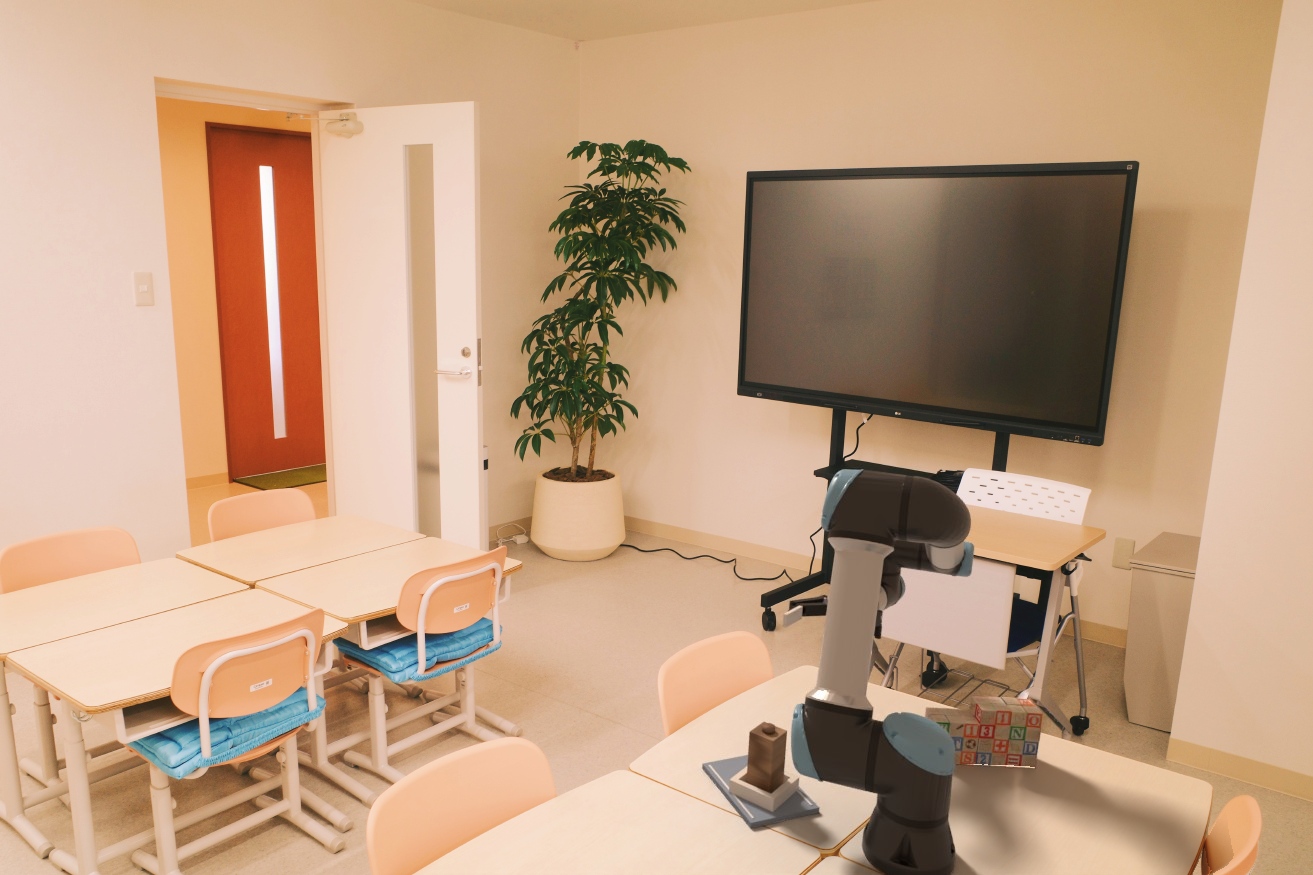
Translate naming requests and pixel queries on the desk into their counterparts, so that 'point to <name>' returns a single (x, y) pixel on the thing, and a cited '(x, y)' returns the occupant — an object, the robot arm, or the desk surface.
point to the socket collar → (760, 796)
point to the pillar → (766, 757)
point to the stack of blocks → (992, 730)
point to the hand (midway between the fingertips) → (815, 629)
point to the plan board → (749, 811)
